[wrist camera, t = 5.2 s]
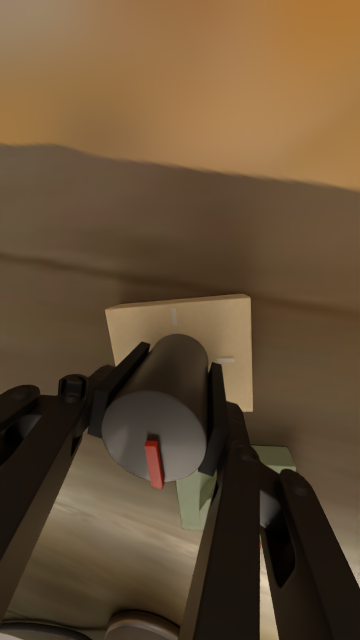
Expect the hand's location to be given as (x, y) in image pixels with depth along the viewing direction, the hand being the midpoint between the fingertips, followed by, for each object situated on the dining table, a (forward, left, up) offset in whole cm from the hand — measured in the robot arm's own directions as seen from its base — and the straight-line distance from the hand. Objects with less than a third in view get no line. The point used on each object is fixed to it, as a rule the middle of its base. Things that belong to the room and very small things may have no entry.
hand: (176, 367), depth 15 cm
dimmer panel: (0, 0, -4) cm, 4 cm away
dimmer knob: (0, 0, -1) cm, 1 cm away
